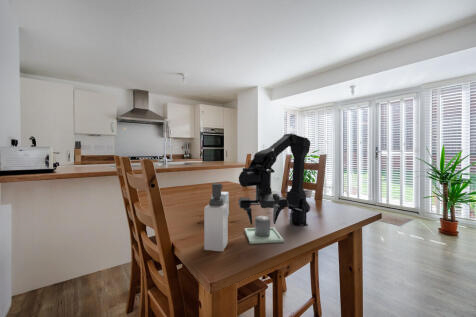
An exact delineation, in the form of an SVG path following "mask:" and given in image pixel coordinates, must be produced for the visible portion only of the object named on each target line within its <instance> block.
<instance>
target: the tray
mask: <svg viewBox="0 0 476 317" xmlns="http://www.w3.org/2000/svg"><path fill="white" fill-rule="evenodd" d="M244 233H245V236H246V237H247V239H248V242H249V244H250V245H252V244H256V245H257V244H274V243H285V242H284V240H285V239H284V238H283V237H282V236H281V234H280V233H279V232H278V230H277V228H276V227H275V226H273V227H272V226H270V236H268V237H258V236H256V235H255V227H244Z"/></svg>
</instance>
